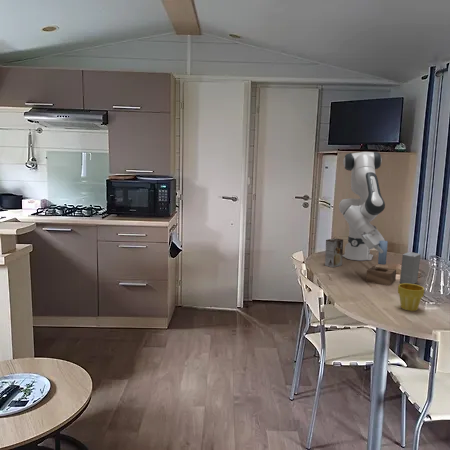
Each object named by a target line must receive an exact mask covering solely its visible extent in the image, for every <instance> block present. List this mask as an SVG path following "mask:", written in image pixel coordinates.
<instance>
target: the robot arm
mask: <svg viewBox="0 0 450 450" xmlns="http://www.w3.org/2000/svg"><path fill="white" fill-rule="evenodd" d="M382 163H383V159H382V155H381V153H380V152H376V151H361V152H353V153H352V152H350V153H346V154H345V155H344V158H343V160H342V165H343V167H344V169H345V170H346V171H350V172H351V173H350V174H351V175H350V190H351V192H352V193H354V194H355V195H357V196H358V197H359V198H354V197H353V198H351V197H349V198H343V199H341V200H340V202H339V203H338V210H339V213H341V215H343V218H344V220H345V221H346V222H347V224H348V236H347V243H346V244H345V247H344V254H343V255H342V258H345V259H348V260H351V261H372V260H373V257H374V254H371V253H370V252H371V250H372V249H375V250H376V251H377V252H378V253H379V252H380V253H381V254H382V253H383V252H384V251H383V249H381V248H380V247H379V244H380V243H379V241H386V240H385V238H384V236H383V235H382V233H381V232H380V230H378V228H377V226H376V225H373V224H372V223H371V222H372V221H374V219H376V218H377V217H378V216H379V215H380V214H381V213H382V212H383V211H384V210H385V208H386V203H385V200H384V198H383V197H382V193H381V189H380V185H379V184H380V183H379V179H378V176H377V174H376V170H378V169H379V168H381V165H382Z"/></svg>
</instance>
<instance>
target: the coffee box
mask: <svg viewBox="0 0 450 450" xmlns="http://www.w3.org/2000/svg"><path fill="white" fill-rule="evenodd" d="M343 249H344V239H341V238H329V239H326V240H325V259H324V266H326V267H330V268H337V267H340V266H343V256H342V255H344V254H343V252H344V251H343Z"/></svg>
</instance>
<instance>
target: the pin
mask: <svg viewBox="0 0 450 450" xmlns="http://www.w3.org/2000/svg"><path fill="white" fill-rule="evenodd" d="M379 243H380V244H379V247H380V248H381V249H383V251H384V252H383V253H382V254H381V253H380V252H379V251H378V255H377V256H378V259H377V264H378V265H386V264H387V256H388V240H385V241H379Z"/></svg>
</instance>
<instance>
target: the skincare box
mask: <svg viewBox="0 0 450 450" xmlns="http://www.w3.org/2000/svg"><path fill="white" fill-rule="evenodd" d="M421 256H422V255H421V253H417V252H413V251H408V252H405V253H403V254H402V258H401V265H400V276H399V283H400V284H403V283H409V284H417V283H418V280H419V271H420V264H421V263H420V262H421Z"/></svg>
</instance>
